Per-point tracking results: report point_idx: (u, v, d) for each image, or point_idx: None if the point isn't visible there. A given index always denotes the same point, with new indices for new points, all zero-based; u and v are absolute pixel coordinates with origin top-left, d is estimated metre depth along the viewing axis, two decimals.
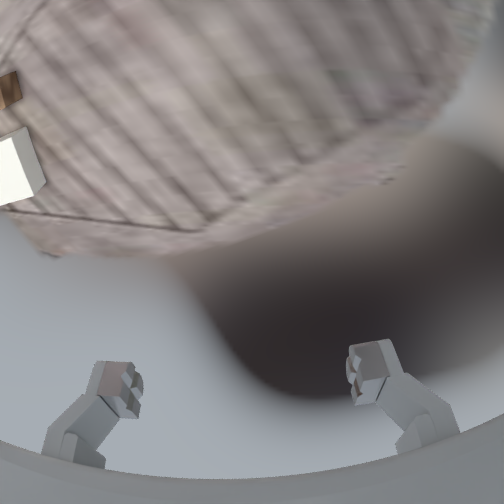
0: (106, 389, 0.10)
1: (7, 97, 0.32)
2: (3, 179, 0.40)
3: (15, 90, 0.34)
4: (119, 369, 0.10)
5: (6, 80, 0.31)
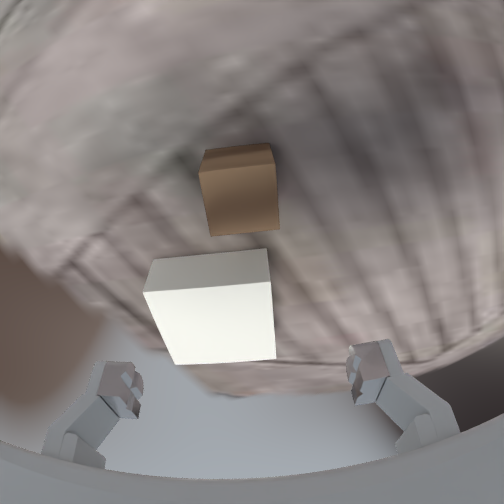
0: (106, 389, 0.10)
1: None
2: (218, 336, 0.30)
3: None
4: (119, 369, 0.10)
5: None
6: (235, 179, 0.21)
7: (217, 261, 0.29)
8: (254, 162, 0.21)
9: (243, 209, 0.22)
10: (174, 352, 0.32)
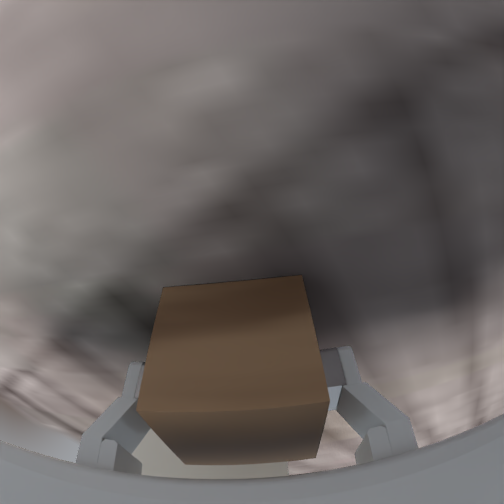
0: None
1: None
2: None
3: None
4: None
5: None
6: (228, 423, 0.08)
7: None
8: (275, 386, 0.08)
9: (246, 449, 0.09)
10: None
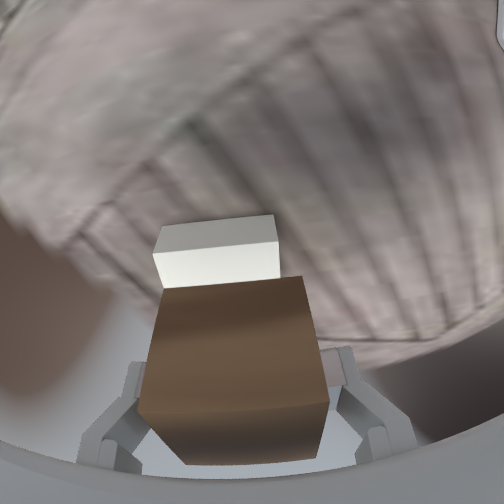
0: None
1: None
2: None
3: None
4: None
5: None
6: (228, 424, 0.08)
7: (225, 225, 0.30)
8: (275, 386, 0.08)
9: (247, 449, 0.09)
10: None
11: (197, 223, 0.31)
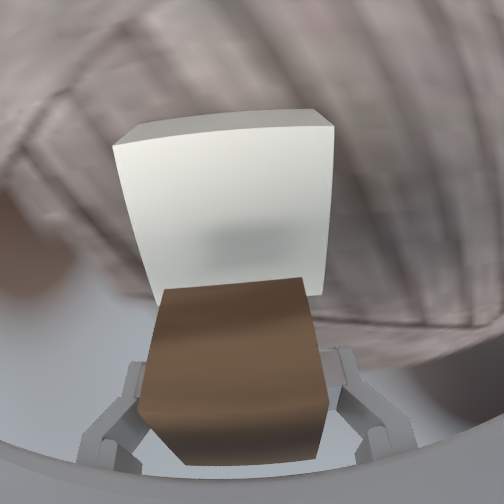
0: None
1: None
2: (234, 243, 0.18)
3: None
4: None
5: None
6: (228, 425, 0.08)
7: (239, 115, 0.17)
8: (274, 388, 0.08)
9: (246, 450, 0.09)
10: (156, 279, 0.19)
11: (193, 116, 0.18)
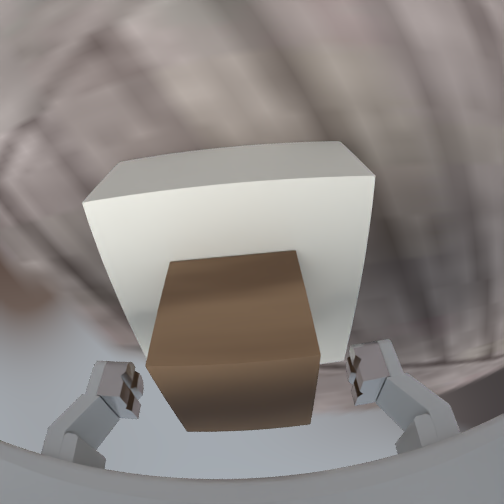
0: (106, 389, 0.09)
1: None
2: None
3: None
4: (119, 369, 0.10)
5: None
6: (228, 379, 0.09)
7: (247, 152, 0.14)
8: (271, 342, 0.09)
9: (245, 410, 0.10)
10: None
11: (187, 152, 0.14)
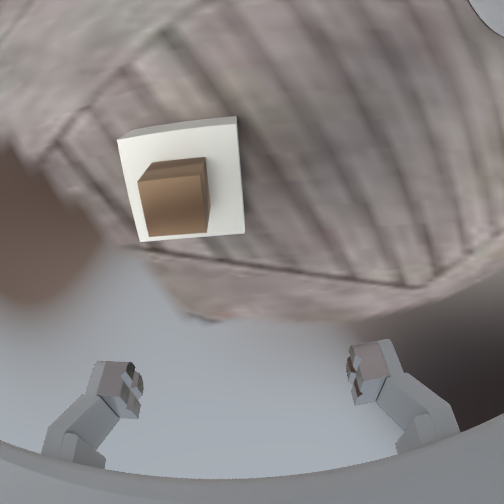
0: (106, 389, 0.10)
1: (206, 212, 0.26)
2: None
3: (207, 195, 0.28)
4: (119, 369, 0.10)
5: (203, 177, 0.26)
6: (167, 188, 0.24)
7: (189, 122, 0.29)
8: (183, 174, 0.24)
9: (174, 214, 0.25)
10: (140, 222, 0.31)
11: (164, 124, 0.30)
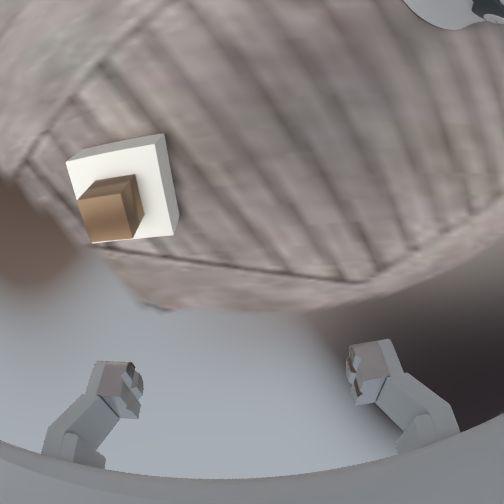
0: (106, 389, 0.10)
1: (132, 221, 0.31)
2: None
3: (137, 206, 0.33)
4: (119, 369, 0.10)
5: (128, 193, 0.30)
6: (98, 204, 0.28)
7: (124, 142, 0.33)
8: (110, 192, 0.28)
9: (106, 224, 0.30)
10: None
11: (106, 144, 0.34)
